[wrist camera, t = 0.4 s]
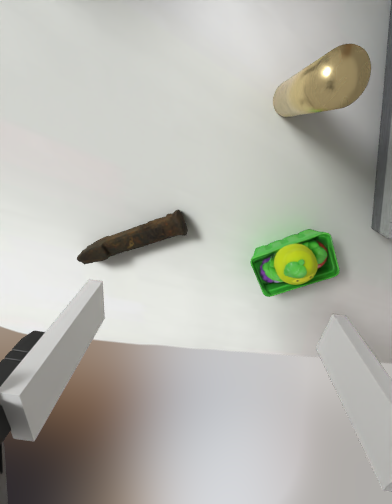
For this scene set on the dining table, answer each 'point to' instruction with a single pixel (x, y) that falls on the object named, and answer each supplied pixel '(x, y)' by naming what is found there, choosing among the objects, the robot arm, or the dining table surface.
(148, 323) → the dining table surface
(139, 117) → the dining table surface
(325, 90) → the toggle switch lever
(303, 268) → the fruit basket
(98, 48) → the dining table surface
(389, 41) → the slotted base plate
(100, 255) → the hand tool
